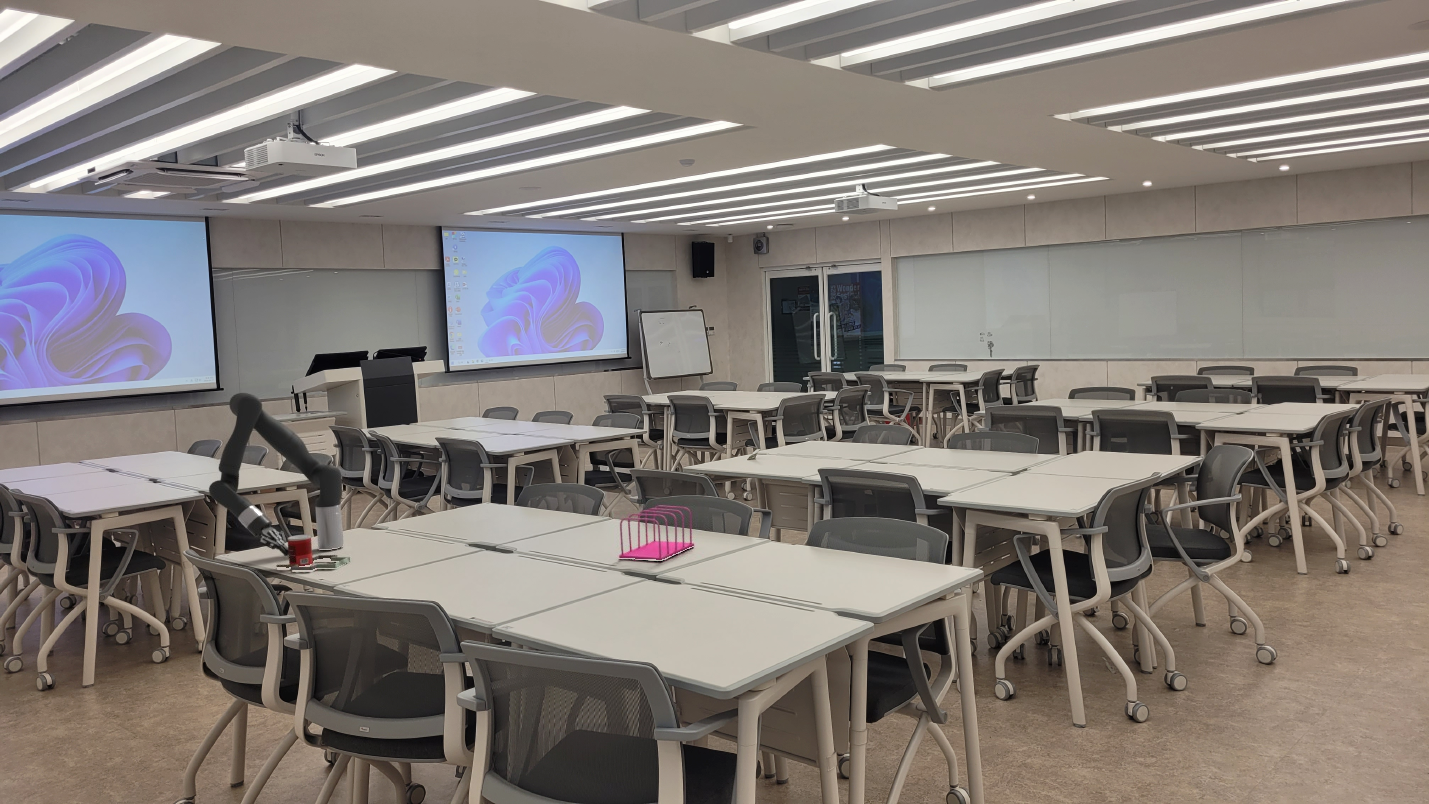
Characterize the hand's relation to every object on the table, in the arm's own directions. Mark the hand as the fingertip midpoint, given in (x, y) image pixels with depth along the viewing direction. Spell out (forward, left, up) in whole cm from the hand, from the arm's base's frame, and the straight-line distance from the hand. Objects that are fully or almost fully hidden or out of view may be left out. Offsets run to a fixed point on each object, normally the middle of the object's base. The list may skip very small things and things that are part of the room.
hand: (288, 553), depth 353 cm
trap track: (0, +9, -5) cm, 10 cm away
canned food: (0, +4, -5) cm, 7 cm away
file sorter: (-12, +133, -5) cm, 134 cm away
